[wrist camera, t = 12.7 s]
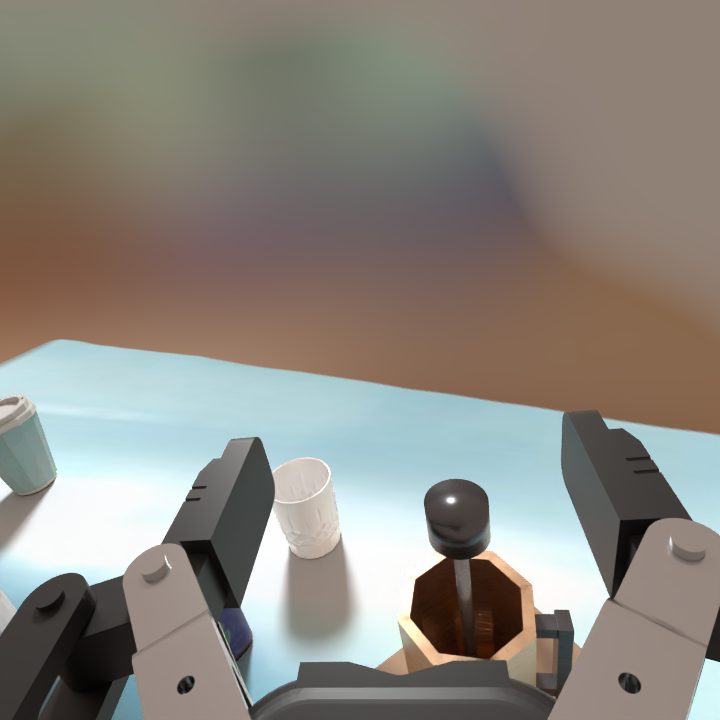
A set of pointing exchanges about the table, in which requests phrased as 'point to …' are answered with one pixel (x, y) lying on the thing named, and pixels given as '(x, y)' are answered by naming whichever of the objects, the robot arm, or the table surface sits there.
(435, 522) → the plunger
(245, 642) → the grey and blue model
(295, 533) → the white cup
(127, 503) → the table surface
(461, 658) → the press beaker
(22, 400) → the disposable coffee cup
